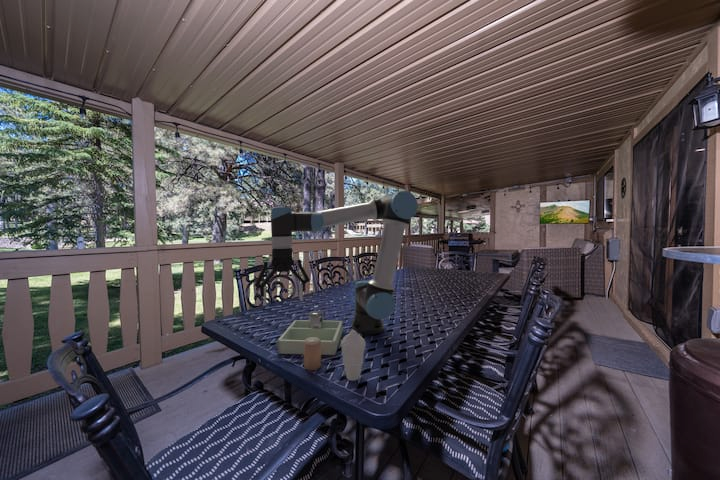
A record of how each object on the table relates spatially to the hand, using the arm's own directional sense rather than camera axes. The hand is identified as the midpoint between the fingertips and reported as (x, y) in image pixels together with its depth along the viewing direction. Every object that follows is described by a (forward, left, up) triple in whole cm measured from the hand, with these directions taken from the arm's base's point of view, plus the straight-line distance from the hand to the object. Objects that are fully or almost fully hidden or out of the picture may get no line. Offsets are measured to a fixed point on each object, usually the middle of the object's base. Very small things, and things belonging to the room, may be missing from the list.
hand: (283, 302), depth 104 cm
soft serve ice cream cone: (-28, +16, -20) cm, 38 cm away
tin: (-9, -14, -19) cm, 25 cm away
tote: (-9, -8, -20) cm, 23 cm away
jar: (-13, +9, -20) cm, 25 cm away
